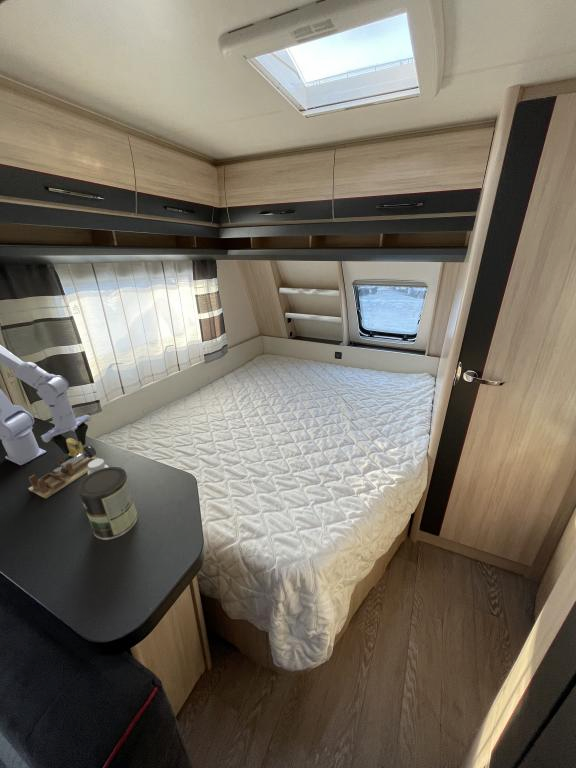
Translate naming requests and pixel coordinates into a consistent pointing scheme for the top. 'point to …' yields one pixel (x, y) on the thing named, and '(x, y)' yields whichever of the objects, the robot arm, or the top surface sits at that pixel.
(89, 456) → the shaft
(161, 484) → the top surface
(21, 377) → the robot arm
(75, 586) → the top surface
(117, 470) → the coffee can
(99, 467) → the supplement bottle
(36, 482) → the bearing bed
